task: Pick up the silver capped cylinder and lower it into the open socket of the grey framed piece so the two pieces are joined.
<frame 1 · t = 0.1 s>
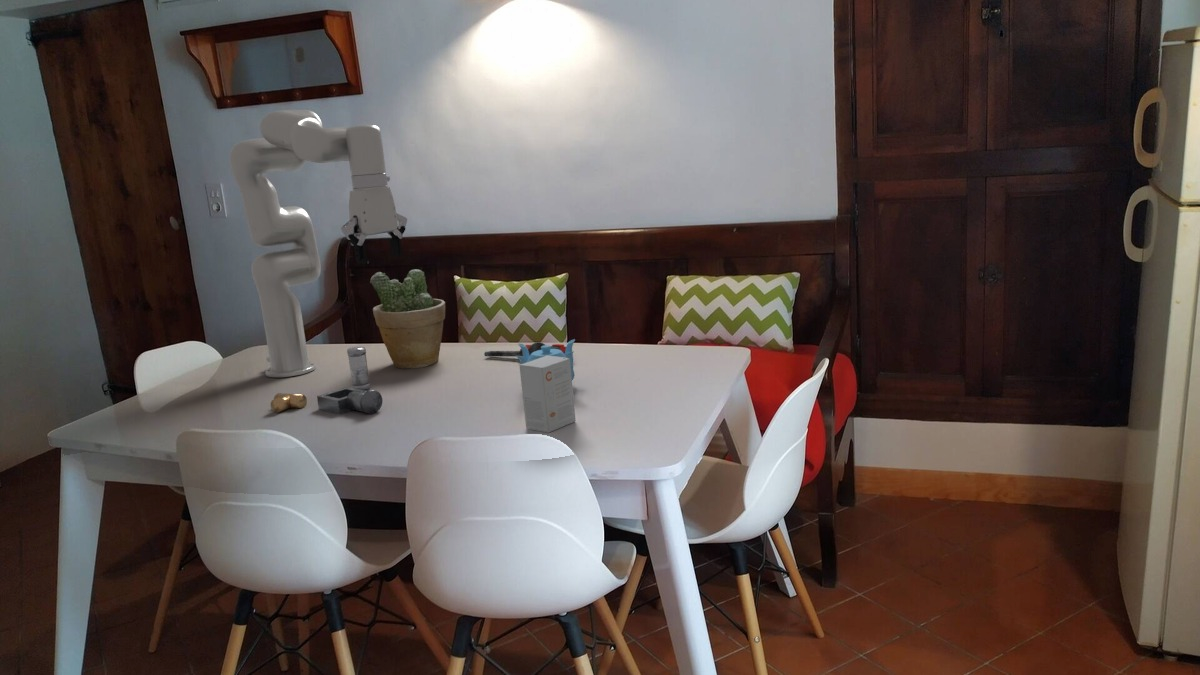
hand: (379, 259, 210), 31 cm above the table, fingers open, 9 cm apart
bronze tee: (291, 406, 211), on the table
grey framed piece: (344, 406, 208), on the table
small box: (550, 426, 183), on the table
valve: (533, 360, 240), on the table
potted plant: (416, 364, 244), on the table
teapot: (550, 390, 209), on the table
silver capped cylinder: (361, 389, 222), on the table
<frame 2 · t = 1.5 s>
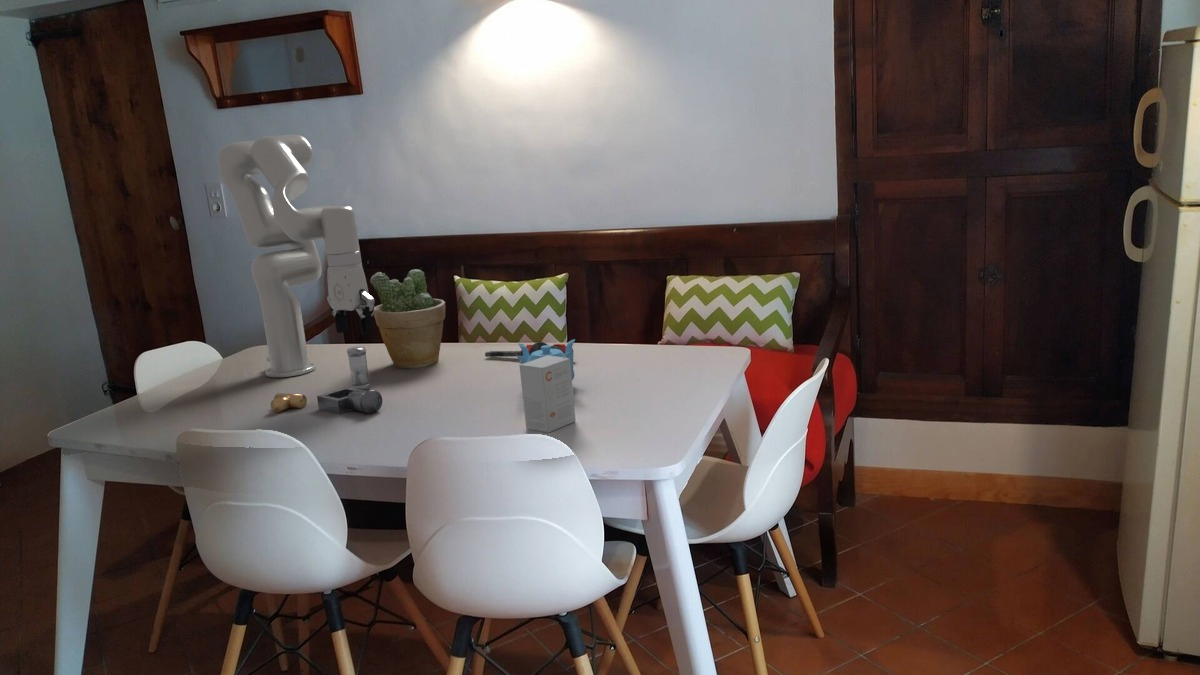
hand: (355, 333, 219), 14 cm above the table, fingers open, 9 cm apart
nothing on the table moved.
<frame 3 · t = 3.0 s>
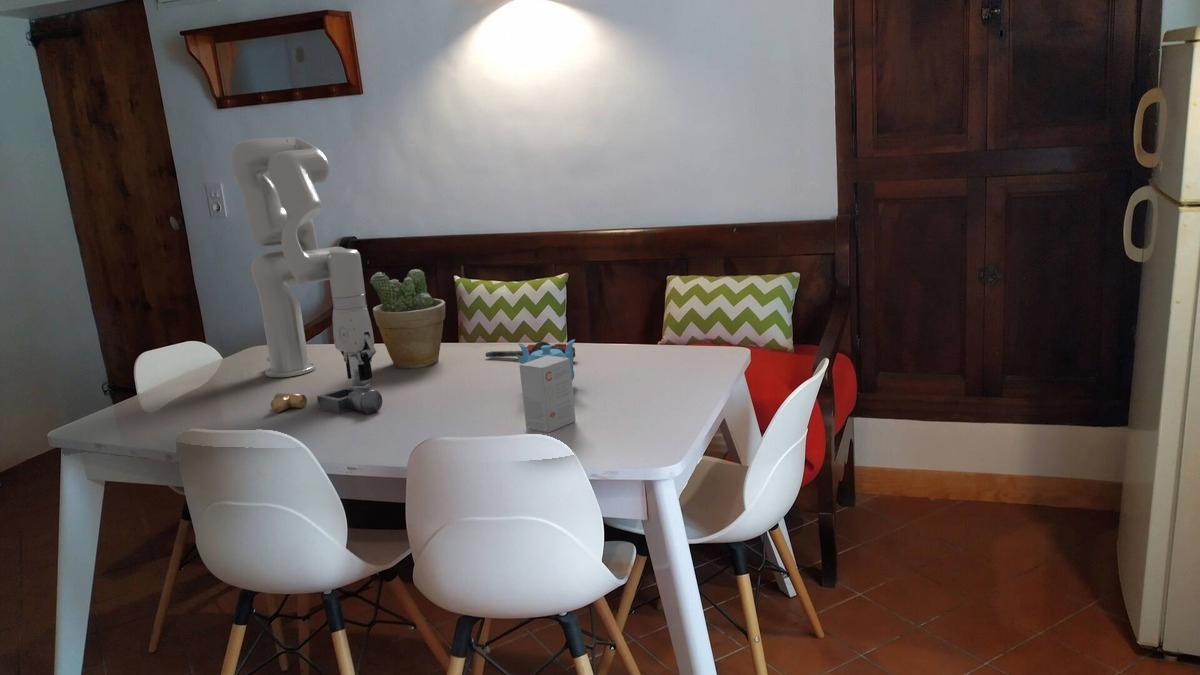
hand: (360, 377, 221), 3 cm above the table, fingers closed on silver capped cylinder, 4 cm apart
silver capped cylinder: (361, 389, 222), on the table, touching gripper
everything else where it was.
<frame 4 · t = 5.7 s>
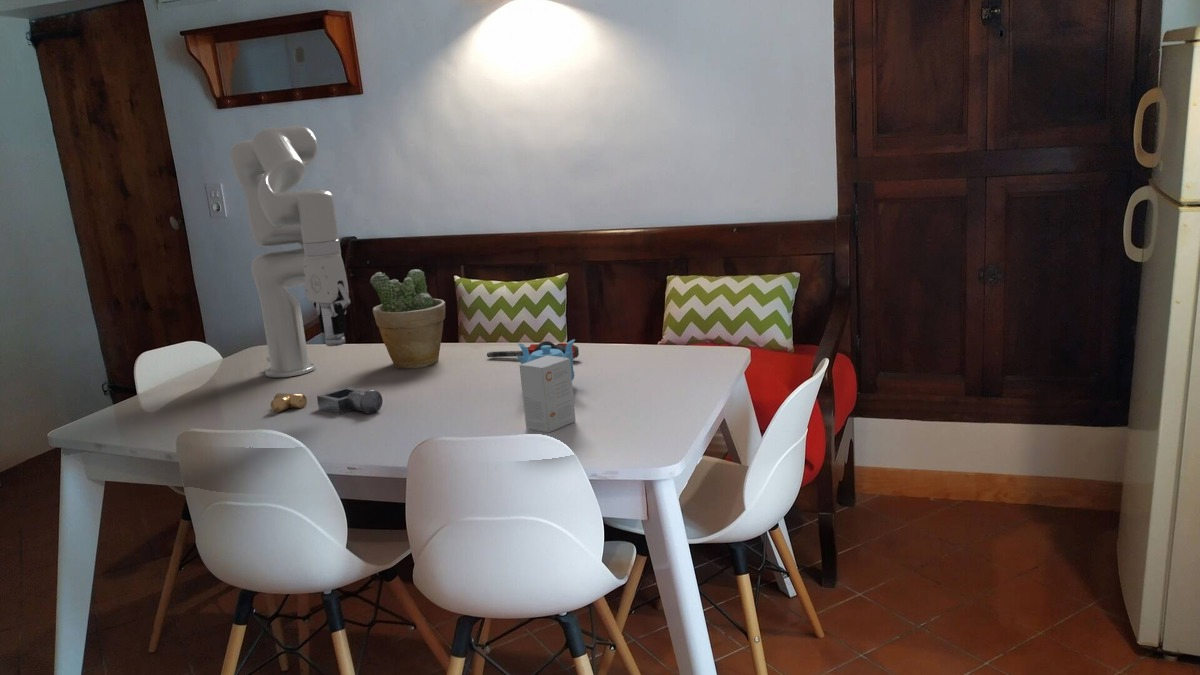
hand: (334, 331, 204), 17 cm above the table, fingers closed on silver capped cylinder, 4 cm apart
silver capped cylinder: (335, 344, 205), point 14 cm above the table, touching gripper
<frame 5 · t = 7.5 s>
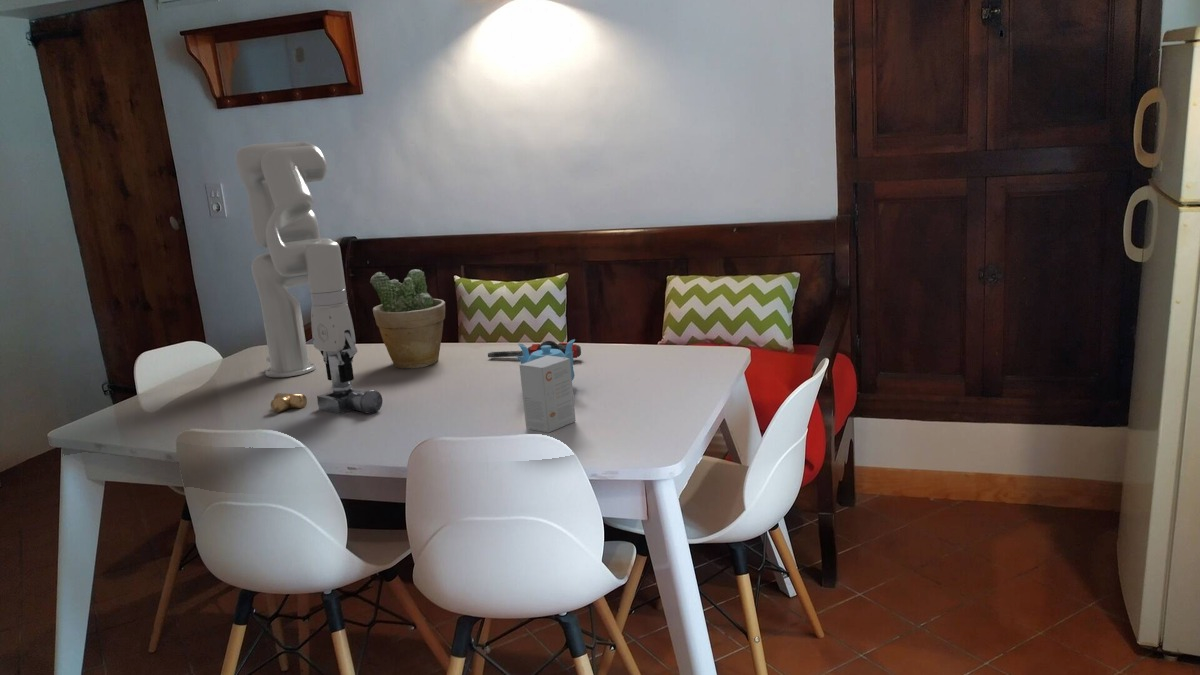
hand: (340, 379, 207), 6 cm above the table, fingers closed on silver capped cylinder, 4 cm apart
silver capped cylinder: (342, 391, 207), point 4 cm above the table, touching gripper
when the fingers open (4 cm above the table, at t = 8.7 s): silver capped cylinder drops 1 cm, resting in grey framed piece.
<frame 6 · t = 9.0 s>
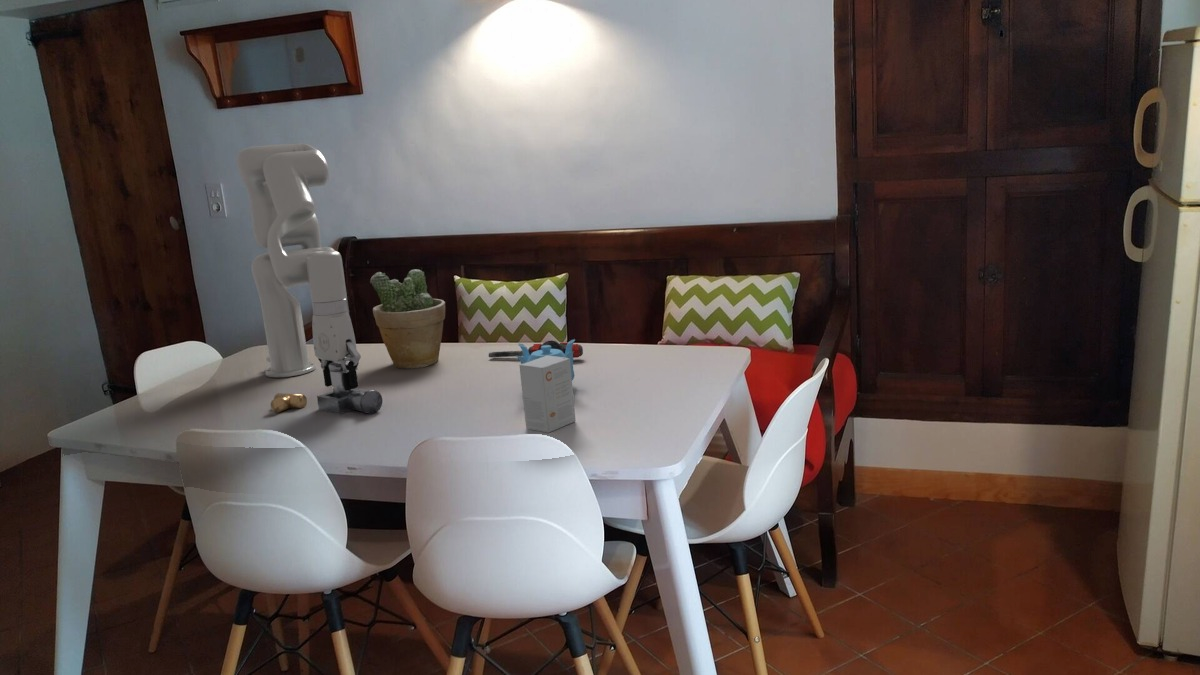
hand: (341, 386, 207), 5 cm above the table, fingers open, 6 cm apart
silver capped cylinder: (344, 406, 208), resting in grey framed piece
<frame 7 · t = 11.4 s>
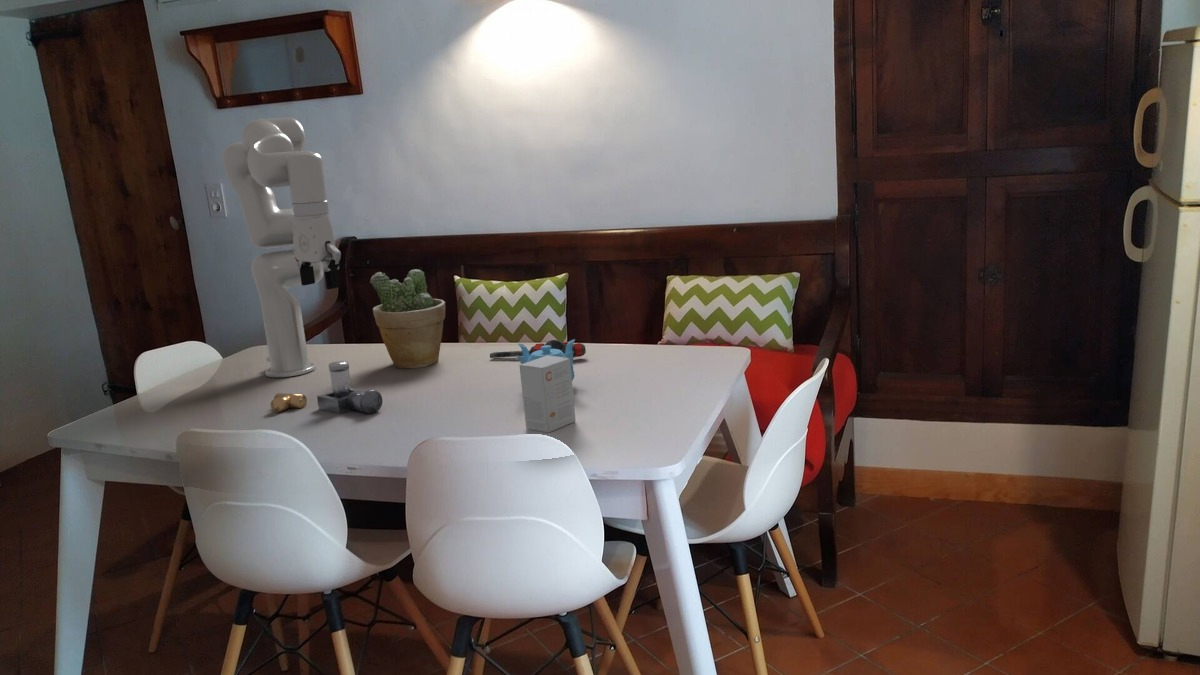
hand: (320, 286, 210), 26 cm above the table, fingers open, 9 cm apart
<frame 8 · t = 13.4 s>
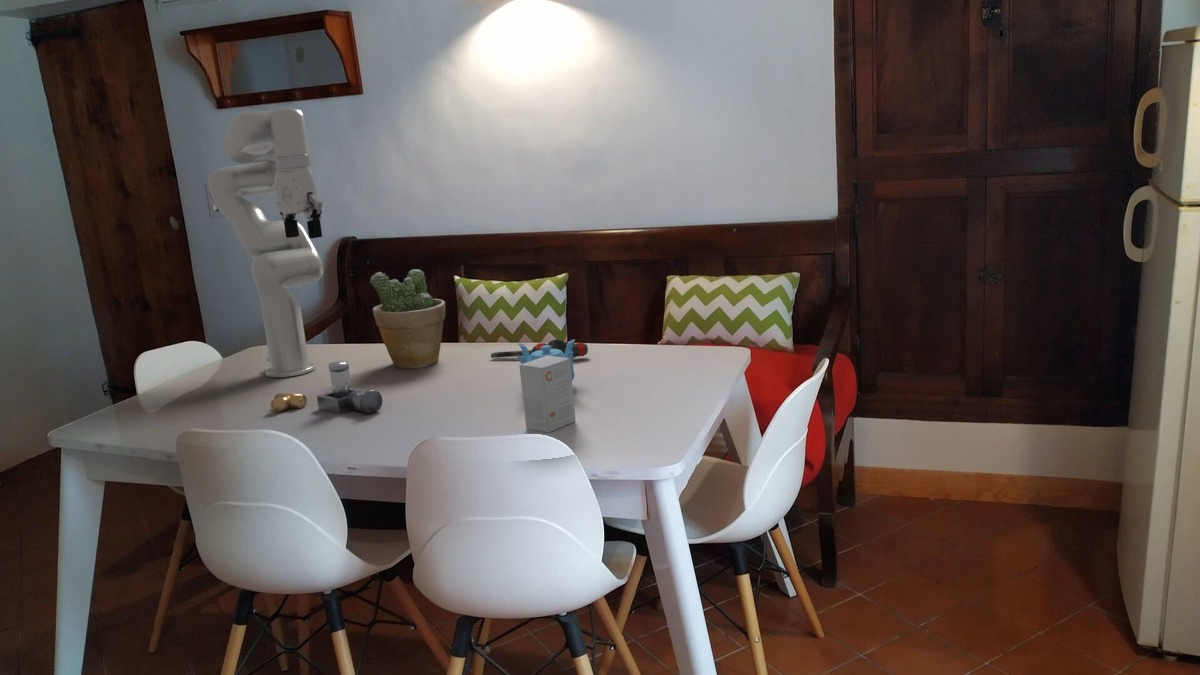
hand: (304, 237, 220), 36 cm above the table, fingers open, 9 cm apart
at the end: silver capped cylinder 0.1 cm off-centre on the grey framed piece, point 0.0 cm above the grey framed piece's base; silver capped cylinder tilted 0°; the gripper is holding nothing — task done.
